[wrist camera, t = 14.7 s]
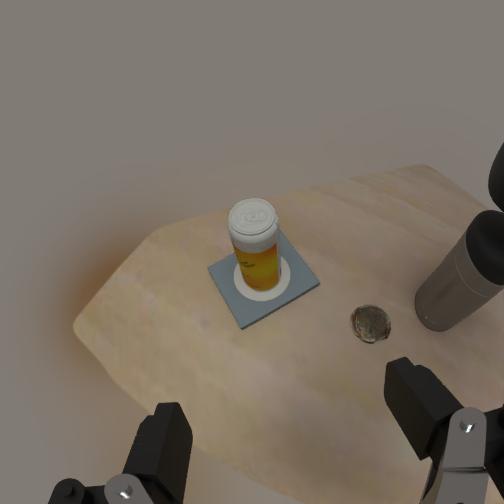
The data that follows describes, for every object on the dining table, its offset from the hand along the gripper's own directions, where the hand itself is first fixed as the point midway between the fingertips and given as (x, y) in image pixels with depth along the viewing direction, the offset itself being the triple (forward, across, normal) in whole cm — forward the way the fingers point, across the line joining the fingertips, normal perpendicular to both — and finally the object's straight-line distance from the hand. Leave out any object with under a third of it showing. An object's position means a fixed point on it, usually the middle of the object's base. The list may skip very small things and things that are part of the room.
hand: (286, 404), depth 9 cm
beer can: (+35, 0, +6) cm, 36 cm away
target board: (+36, 0, +7) cm, 37 cm away
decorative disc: (+28, -15, +15) cm, 36 cm away
